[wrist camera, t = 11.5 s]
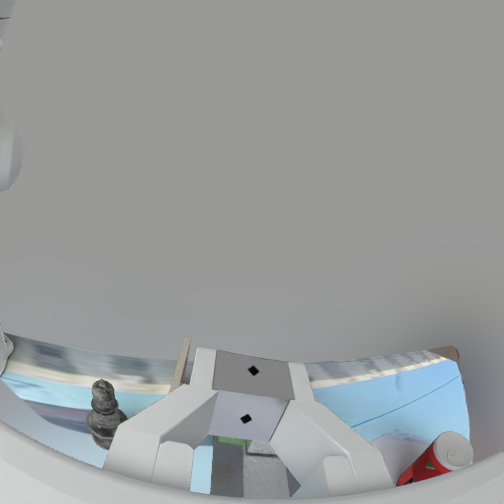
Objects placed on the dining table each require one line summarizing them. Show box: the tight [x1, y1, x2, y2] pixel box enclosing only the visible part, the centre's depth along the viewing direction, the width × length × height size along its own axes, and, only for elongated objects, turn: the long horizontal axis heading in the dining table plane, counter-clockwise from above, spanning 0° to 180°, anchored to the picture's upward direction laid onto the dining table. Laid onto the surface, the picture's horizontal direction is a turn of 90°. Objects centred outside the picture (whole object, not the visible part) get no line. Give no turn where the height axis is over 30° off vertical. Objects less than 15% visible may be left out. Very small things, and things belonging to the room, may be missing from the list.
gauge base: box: [169, 336, 301, 499], centre depth 36 cm, size 30×21×10 cm
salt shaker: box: [87, 379, 128, 450], centre depth 30 cm, size 6×6×12 cm
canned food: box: [397, 431, 473, 487], centre depth 28 cm, size 8×8×11 cm
